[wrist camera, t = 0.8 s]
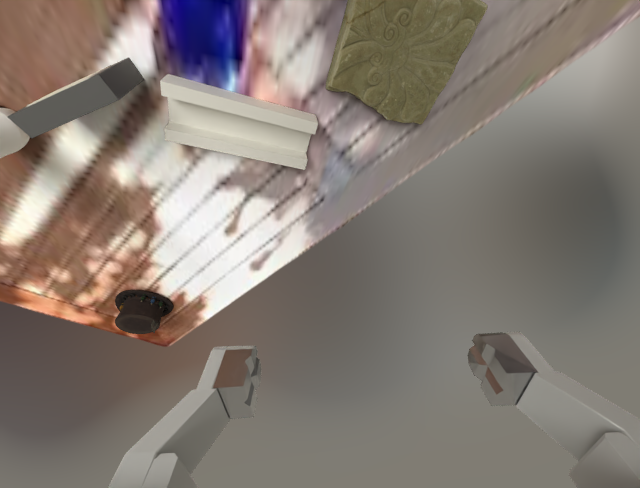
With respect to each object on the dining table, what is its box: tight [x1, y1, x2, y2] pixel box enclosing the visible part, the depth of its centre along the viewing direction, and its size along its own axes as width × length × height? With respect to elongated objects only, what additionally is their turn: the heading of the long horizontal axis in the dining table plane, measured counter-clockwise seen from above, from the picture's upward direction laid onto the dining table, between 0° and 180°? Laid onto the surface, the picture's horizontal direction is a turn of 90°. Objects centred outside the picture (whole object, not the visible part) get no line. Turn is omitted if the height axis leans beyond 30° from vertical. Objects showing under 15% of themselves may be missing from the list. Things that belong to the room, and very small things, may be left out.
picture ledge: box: [160, 74, 318, 170], centre depth 47 cm, size 9×24×4 cm, turn 73°
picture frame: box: [7, 58, 144, 138], centre depth 38 cm, size 3×14×10 cm, turn 108°
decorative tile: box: [326, 0, 487, 125], centre depth 43 cm, size 19×20×4 cm
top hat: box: [115, 290, 173, 334], centre depth 77 cm, size 15×15×10 cm
